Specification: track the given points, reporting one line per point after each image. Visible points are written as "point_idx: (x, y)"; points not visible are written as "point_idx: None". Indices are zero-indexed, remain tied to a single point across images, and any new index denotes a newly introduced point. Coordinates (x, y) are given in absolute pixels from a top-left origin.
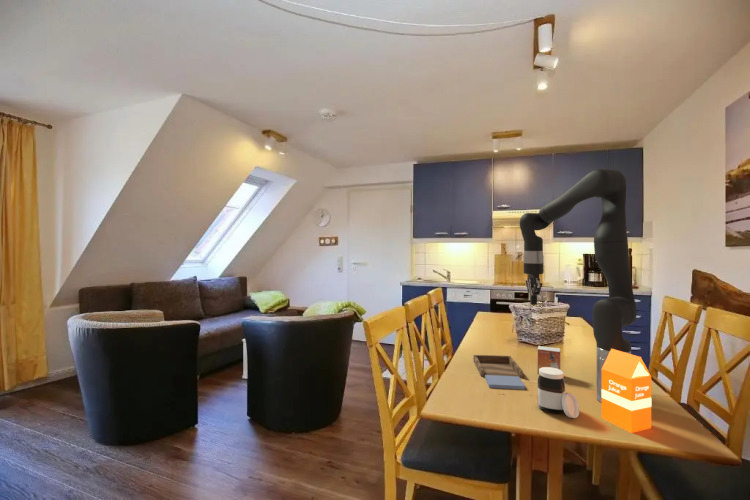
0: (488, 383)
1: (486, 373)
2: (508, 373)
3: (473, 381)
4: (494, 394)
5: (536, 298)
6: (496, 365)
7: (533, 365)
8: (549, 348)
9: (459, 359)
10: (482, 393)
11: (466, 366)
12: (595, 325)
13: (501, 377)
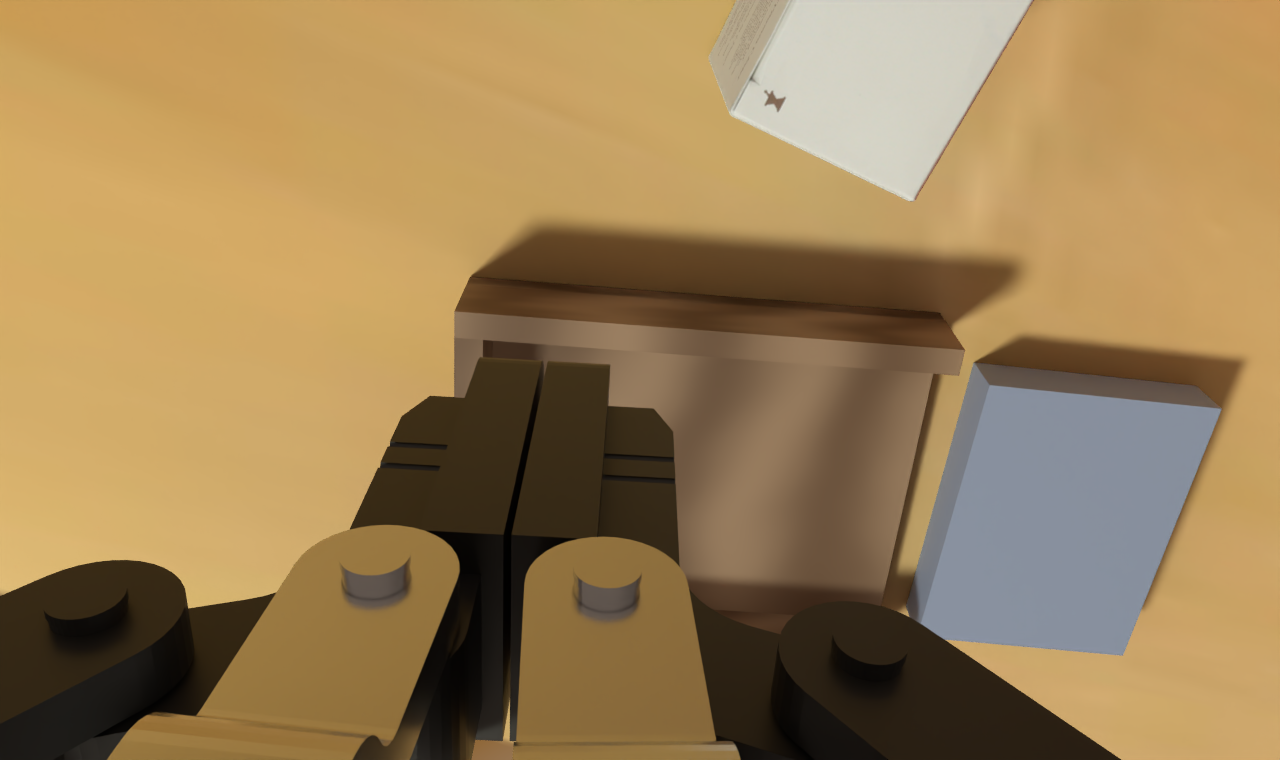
0: (1087, 648)
1: (803, 584)
2: (814, 408)
3: None
4: (1188, 611)
5: (671, 521)
6: None
7: (495, 23)
8: (902, 9)
9: None
10: (1153, 678)
11: None
12: None
13: (993, 532)
